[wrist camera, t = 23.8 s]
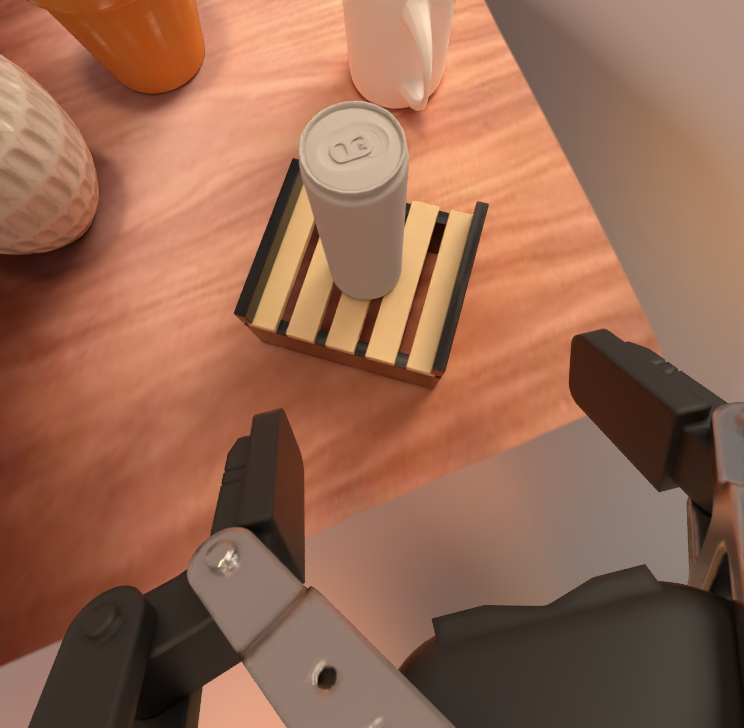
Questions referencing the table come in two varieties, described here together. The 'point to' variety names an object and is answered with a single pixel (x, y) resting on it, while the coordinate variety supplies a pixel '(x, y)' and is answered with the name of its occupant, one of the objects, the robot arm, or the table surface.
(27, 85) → the vase
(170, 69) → the flower pot
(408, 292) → the rack
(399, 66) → the mug
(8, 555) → the table surface
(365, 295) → the beverage can
